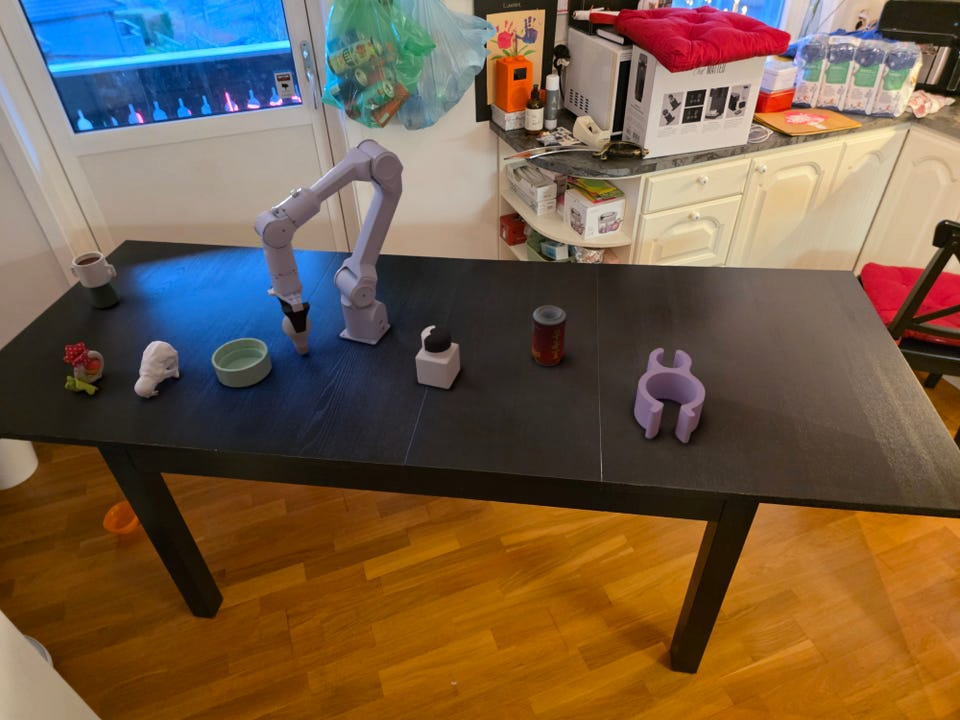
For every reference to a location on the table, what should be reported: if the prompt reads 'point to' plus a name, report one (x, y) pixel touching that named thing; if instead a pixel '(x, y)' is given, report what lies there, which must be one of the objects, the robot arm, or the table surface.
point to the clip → (669, 394)
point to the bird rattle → (83, 367)
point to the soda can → (548, 334)
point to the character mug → (96, 278)
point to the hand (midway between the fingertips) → (295, 322)
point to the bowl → (242, 362)
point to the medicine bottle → (437, 358)
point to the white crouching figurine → (156, 367)
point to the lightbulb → (297, 335)
